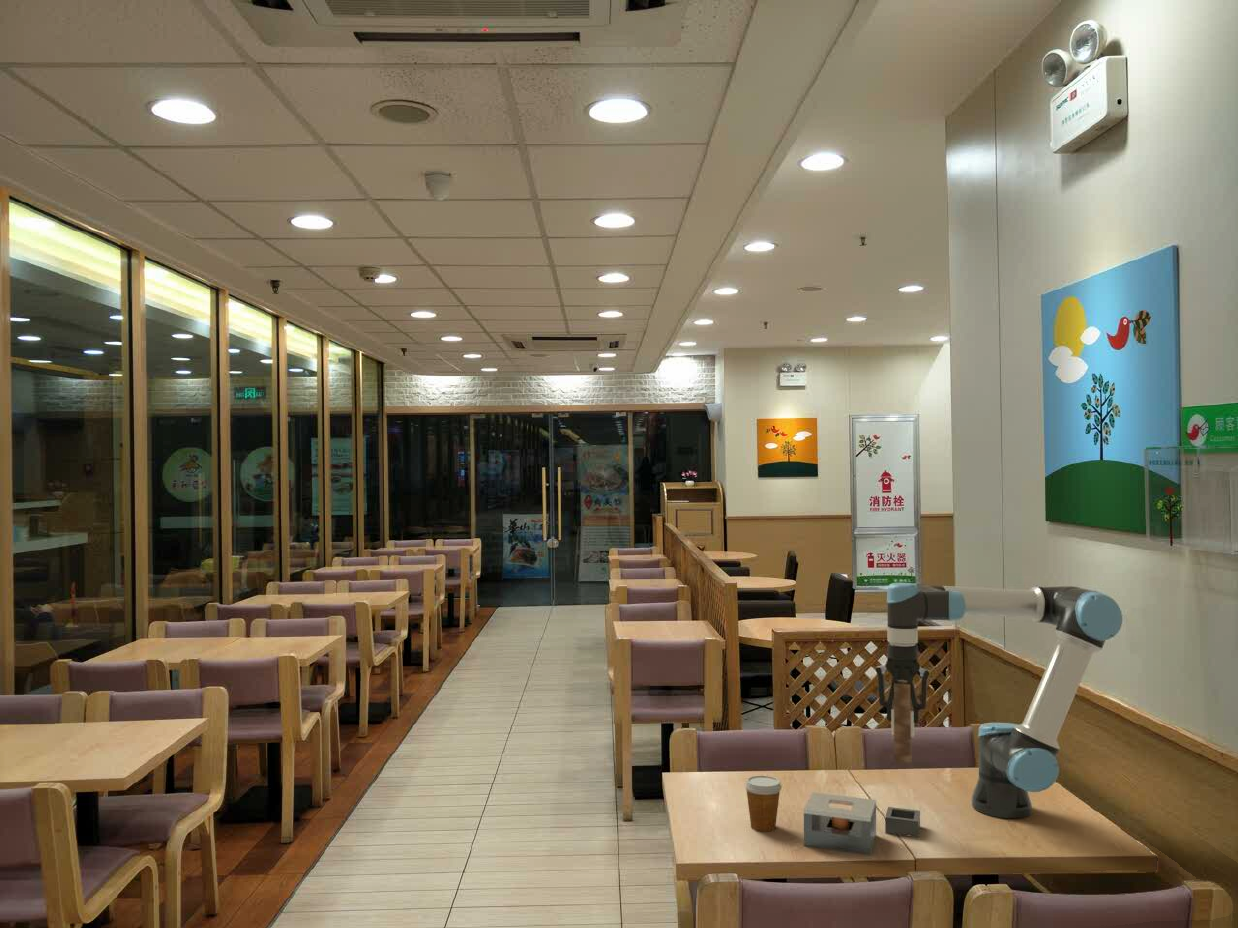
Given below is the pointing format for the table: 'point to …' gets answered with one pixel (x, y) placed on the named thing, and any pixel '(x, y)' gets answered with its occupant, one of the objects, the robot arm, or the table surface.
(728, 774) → the table surface
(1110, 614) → the robot arm
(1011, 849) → the table surface
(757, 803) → the disposable coffee cup
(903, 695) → the brown wooden bar
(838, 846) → the box
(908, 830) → the gray square socket
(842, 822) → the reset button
